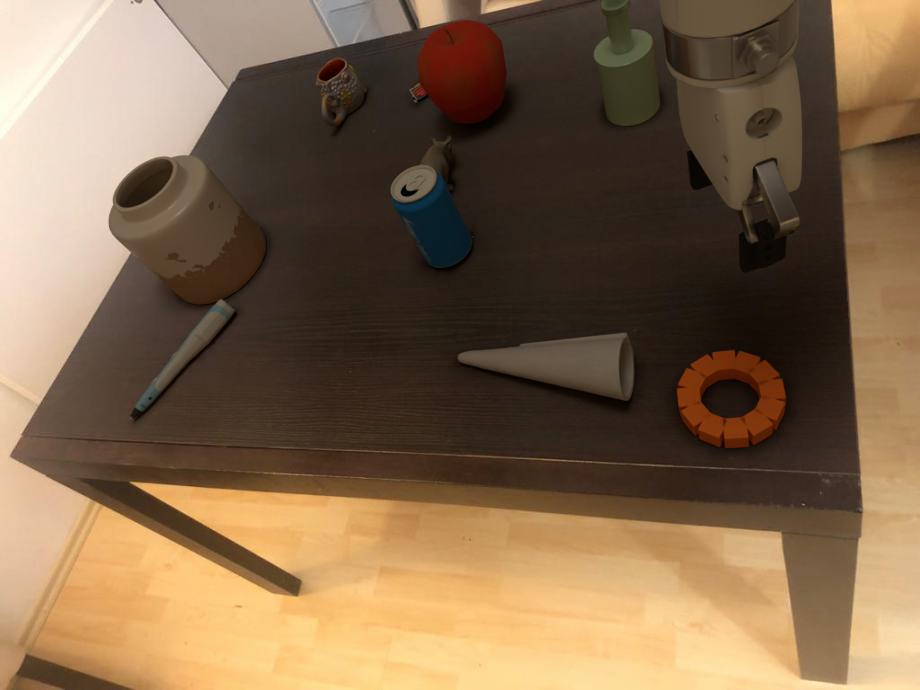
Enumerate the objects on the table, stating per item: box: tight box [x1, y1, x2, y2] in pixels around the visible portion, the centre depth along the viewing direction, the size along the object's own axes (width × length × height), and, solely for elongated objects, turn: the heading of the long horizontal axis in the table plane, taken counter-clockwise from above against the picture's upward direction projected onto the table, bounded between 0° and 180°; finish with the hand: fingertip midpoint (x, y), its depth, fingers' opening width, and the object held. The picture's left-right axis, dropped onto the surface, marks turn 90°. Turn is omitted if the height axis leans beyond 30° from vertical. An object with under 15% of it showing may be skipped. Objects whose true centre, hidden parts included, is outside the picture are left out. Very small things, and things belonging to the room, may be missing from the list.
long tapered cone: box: [457, 332, 635, 402], centre depth 70 cm, size 6×6×19 cm
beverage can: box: [390, 164, 473, 269], centre depth 81 cm, size 6×6×12 cm
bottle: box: [593, 0, 661, 127], centre depth 83 cm, size 7×7×15 cm
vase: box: [107, 154, 267, 306], centre depth 94 cm, size 15×15×17 cm
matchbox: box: [409, 82, 428, 104], centre depth 107 cm, size 5×5×1 cm
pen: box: [129, 299, 236, 420], centre depth 90 cm, size 19×3×3 cm, turn 143°
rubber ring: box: [676, 349, 787, 449], centre depth 62 cm, size 9×9×2 cm
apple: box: [416, 19, 508, 124], centre depth 94 cm, size 12×12×14 cm
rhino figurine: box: [419, 135, 454, 192], centre depth 91 cm, size 4×14×6 cm, turn 161°
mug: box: [315, 57, 367, 128], centre depth 109 cm, size 12×7×7 cm, turn 168°
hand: (734, 220), depth 54 cm, fingers open, 9 cm apart
